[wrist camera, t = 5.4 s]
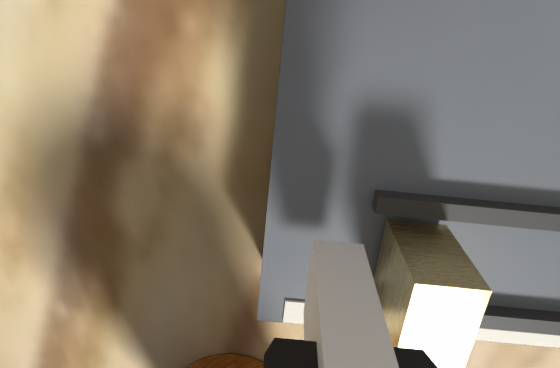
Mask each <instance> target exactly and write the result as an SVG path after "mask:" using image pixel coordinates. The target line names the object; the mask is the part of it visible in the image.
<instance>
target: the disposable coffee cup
mask: <svg viewBox="0 0 560 368" xmlns="http://www.w3.org/2000/svg"><path fill="white" fill-rule="evenodd" d="M263 365H264V363H263V362H262V361H259V360H257V359H254V358H252V357H247V356H243V355H236V354H222V355H213V356H210V357H206V358H203V359H200V360H198V361H196V362H195V363H193V364H191V365H190V366H189V367H187V368H263Z"/></svg>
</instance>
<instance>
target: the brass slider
mask: <svg viewBox="0 0 560 368" xmlns="http://www.w3.org/2000/svg"><path fill="white" fill-rule="evenodd" d="M374 282H375V286H376V289H377V293H378V296H379V300H380V303H381V307H382V310H383V314H384V317H385V321H386V324H387V328H388V331H389V335H390V338H391V341H392V345H393V347H399V348H411V349H422V350H424V351H425V352H426V354H427V355H428V356H429V357H430V358H431V359H432V361H433V362H434V363H435V364H436V365H437V366H438V368H465V365H466V362H467V359H468V357H469V354H470V351H471V348H472V345H473V343H474V340H475V337H476V334H477V332H478V329H479V326H480V323H481V320H482V318H483V315H484V312H485V309H486V307H487V304H488V301H489V298H490V296H491V293H492V290H491V289H490V287H489V286H488V284H487V283H486V281H485V280H484V278H483V277H482V276H481V274H480V273H479V271H478V270H477V268H476V267H475V266H474V264H473V263H472V261H471V260H470V258H469V257H468V255H467V254H466V253H465V251H464V250H463V248H462V247H461V245H460V244H459V242H458V241H457V240H456V238H455V237H454V235H453V234H452V232H451V231H450V229H449V228H448V227H447V225H442V224H431V223H421V222H410V221H400V220H389V219H387V221H386V225H385V230H384V234H383V239H382V243H381V248H380V252H379V257H378V261H377V266H376V271H375V275H374Z"/></svg>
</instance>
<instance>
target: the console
mask: <svg viewBox="0 0 560 368" xmlns="http://www.w3.org/2000/svg"><path fill="white" fill-rule="evenodd" d="M387 219H389V220H400V221H410V222H421V223H431V224H442V225H447V227H448V228H449V229H450V231H451V232H452V234H453V235H454V237H455V238H456V240H457V241H458V242H459V244H460V245H461V247H462V248H463V250H464V251H465V253H466V254H467V255H468V257H469V258H470V260H471V261H472V263H473V264H474V266H475V267H476V268H477V270H478V271H479V273H480V274H481V276H482V277H483V278H484V280H485V281H486V283H487V284H488V286H489V287H490V289H491V290H492V293H491V296H490V298H489V301H488V304H487V307H486V309H485V312H484V315H483V318H482V320H481V323H480V326H479V329H478V332H477V334H476V337H475V340H477V341H488V342H499V343H509V344H520V345H531V346H542V347H553V348H560V0H286V8H285V19H284V29H283V40H282V51H281V62H280V73H279V84H278V94H277V105H276V116H275V127H274V138H273V149H272V159H271V170H270V181H269V192H268V203H267V213H266V224H265V235H264V246H263V257H262V268H261V278H260V289H259V300H258V311H257V320H259V321H270V322H281V323H292V324H303V325H304V314H303V312H304V304H305V297H306V290H307V283H308V275H309V268H310V261H311V253H312V246H313V240H324V241H335V242H346V243H357V244H364V248H365V251H366V255H367V258H368V262H369V265H370V269H371V272H372V276H373V279H374V275H375V271H376V266H377V261H378V257H379V252H380V248H381V243H382V239H383V234H384V230H385V225H386V221H387Z"/></svg>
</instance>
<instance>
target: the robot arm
mask: <svg viewBox="0 0 560 368" xmlns="http://www.w3.org/2000/svg"><path fill="white" fill-rule="evenodd" d="M303 314H304V340H293V339H282V338H274V340H273V341H272V343H271V344H270V346H269V348H268V349H267V351H266V352H265V354H264V365H263V368H438V366H437V365H436V364H435V363H434V362H433V361H432V359H431V358H430V357H429V356H428V355H427V354H426V352H425V351H424V350H422V349H411V348H399V347H393V345H392V341H391V338H390V335H389V331H388V328H387V324H386V321H385V317H384V314H383V310H382V307H381V303H380V300H379V296H378V293H377V289H376V286H375V282H374V279H373V276H372V272H371V269H370V265H369V262H368V258H367V255H366V251H365V248H364V244H357V243H346V242H335V241H324V240H313V246H312V253H311V261H310V268H309V275H308V283H307V290H306V297H305V304H304V312H303Z"/></svg>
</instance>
